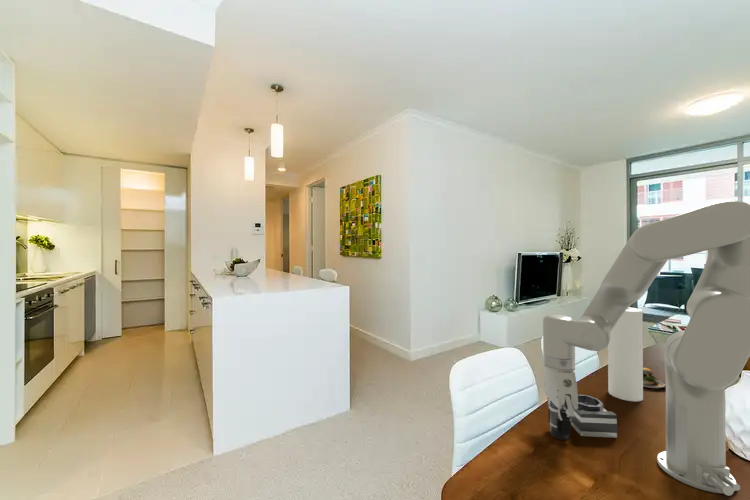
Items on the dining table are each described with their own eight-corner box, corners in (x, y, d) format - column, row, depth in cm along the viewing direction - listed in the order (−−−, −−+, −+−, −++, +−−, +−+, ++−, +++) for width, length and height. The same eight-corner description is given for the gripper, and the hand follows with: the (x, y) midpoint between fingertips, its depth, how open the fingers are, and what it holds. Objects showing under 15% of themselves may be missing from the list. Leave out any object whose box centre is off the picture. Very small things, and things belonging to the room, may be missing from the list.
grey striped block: (617, 437, 87) (617, 410, 86) (580, 436, 88) (580, 409, 87) (591, 414, 99) (591, 391, 99) (560, 413, 100) (560, 389, 99)
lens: (572, 440, 86) (572, 409, 86) (554, 439, 86) (553, 408, 86) (564, 430, 90) (563, 401, 90) (546, 429, 91) (546, 400, 91)
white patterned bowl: (620, 383, 121) (620, 363, 121) (630, 376, 128) (630, 357, 128) (662, 395, 112) (662, 373, 112) (671, 386, 119) (670, 365, 119)
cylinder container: (649, 402, 106) (649, 310, 106) (617, 400, 108) (616, 309, 108) (632, 390, 115) (632, 305, 115) (603, 388, 117) (602, 304, 117)
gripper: (590, 373, 79) (591, 448, 79) (559, 351, 96) (559, 413, 96) (558, 372, 80) (558, 447, 80) (532, 351, 97) (533, 412, 97)
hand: (559, 428), depth 88 cm, fingers closed on lens, 4 cm apart
